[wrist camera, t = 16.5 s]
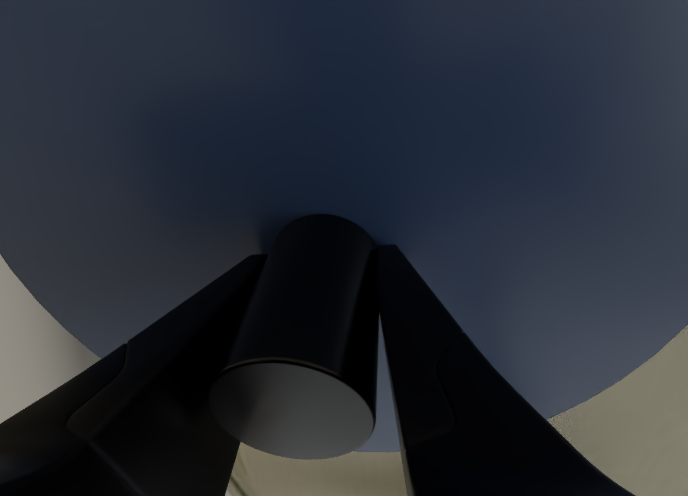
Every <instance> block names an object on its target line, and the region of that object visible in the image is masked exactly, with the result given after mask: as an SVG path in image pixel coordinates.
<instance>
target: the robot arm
mask: <svg viewBox="0 0 688 496" xmlns="http://www.w3.org/2000/svg"><path fill="white" fill-rule="evenodd" d="M267 256H268V255H267V254H254V255H250V256H248V257H247V258H245V259H244V260H242V261H241V262H240V263H238V264H237V265H235V266H234V267H233V268H231V269H230V270H228V271H227V272H225V273H224V274H223V275H221V276H220V277H218V278H217V279H215V280H214V281H213V282H211V283H210V284H208V285H207V286H205V287H204V288H203V289H201V290H200V291H198V292H197V293H195V294H194V295H193V296H191V297H190V298H188V299H187V300H185V301H184V302H183V303H181V304H180V305H178V306H177V307H175V308H174V309H173V310H171V311H170V312H168V313H167V314H165V315H164V316H163V317H161V318H160V319H158V320H157V321H155V322H154V323H153V324H151V325H150V326H148V327H147V328H145V329H144V330H143V331H141V332H140V333H138V334H137V335H135V336H134V337H133V338H131V339H130V340H128V342H127V344H126V343H124V344H122V345H121V346H120V347H118V348H117V349H115V350H114V351H112V352H111V353H110V354H108V355H107V356H105V357H104V358H102V359H101V360H100V361H98V362H96V363H95V364H93V365H92V366H91V367H89V368H88V369H86V370H85V371H83V372H82V373H80V374H79V375H77V376H75V377H74V378H72V379H71V380H69V381H68V382H66V383H64V384H63V385H61V386H60V387H58V388H57V389H55V390H54V391H52V392H50V393H49V394H48V395H46V396H44V397H42V398H41V399H39V400H38V401H36V402H35V403H33V404H31V405H30V406H28V407H26V408H25V409H23V410H22V411H20V412H19V413H17V414H15V415H14V416H12V417H10V418H9V419H7V420H6V421H4V422H3V423H1V424H0V496H225V493H226V490H227V486H228V483H229V480H230V476H231V473H232V469H233V466H234V462H235V459H236V456H237V452H238V449H239V445H240V442H241V441H239V440H237V439H236V438H234V437H233V436H231V435H230V434H229V433H227V432H226V431H225V430H224V429H223V428H222V427H220V426H219V424H218V423H217V422H216V421H215V420H214V418H213V417H212V415H211V414H210V411H209V409H208V406H207V401H206V391H207V387H208V384H209V382H210V380H211V378H212V375H213V373H214V371H215V369H216V367H217V365H218V362H219V360H220V358H221V356H222V354H223V352H224V349H225V347H226V345H227V343H228V341H229V339H230V336H231V334H232V332H233V330H234V328H235V326H236V323H237V321H238V319H239V317H240V315H241V313H242V310H243V308H244V306H245V304H246V302H247V300H248V297H249V295H250V293H251V291H252V289H253V287H254V284H255V282H256V280H257V278H258V276H259V274H260V271H261V269H262V267H263V265H264V263H265V261H266V259H267ZM375 284H376V291H377V298H378V306H379V313H380V320H381V327H382V334H383V341H384V348H385V355H386V361H387V368H388V374H389V380H390V387H391V393H392V400H393V406H394V412H395V419H396V425H397V432H398V438H399V444H400V451H401V457H402V464H403V470H404V476H405V483H406V489H407V495H408V496H636V495H634V494H632V493H630V492H629V491H627V490H626V489H624V488H623V487H621V486H619V485H618V484H617V483H615V482H614V481H613V480H611V479H610V478H608V477H607V476H606V475H604V474H603V473H602V472H601V471H599V470H598V469H597V468H596V467H595V466H593V465H592V464H591V463H590V462H589V461H588V460H587V459H586V458H585V457H584V456H582V455H581V454H580V453H579V452H578V451H577V450H576V449H575V448H574V447H573V446H572V445H571V444H570V443H569V442H568V441H567V440H566V439H565V438H564V437H563V436H562V435H561V434H560V433H559V432H558V431H557V430H556V429H555V428H554V427H553V426H552V425H551V424H550V423H549V422H548V421H547V420H546V419H545V418H544V417H543V416H542V415H541V414H540V413H539V412H538V411H537V410H536V409H535V408H534V407H533V406H532V405H531V404H530V403H529V402H528V401H527V400H526V399H524V398H523V397H522V396H521V395H520V394H519V393H518V392H517V391H516V390H515V389H514V388H513V387H512V385H511V384H510V383H509V382H508V381H507V380H506V379H505V378H504V377H503V376H502V375H501V374H500V373H499V372H498V371H497V370H496V369H495V368H494V367H493V366H492V364H491V363H490V362H489V361H488V360H487V359H486V357H485V356H484V355H483V354H482V353H481V351H480V350H479V349H478V348H477V347H476V346H475V344H474V343H473V342H472V340H471V339H470V338H469V337H468V335H467V334H466V333H464V331H463V329H462V328H461V327H460V325H459V324H458V323H457V322H456V320H455V319H454V318H453V316H452V315H451V314H450V313H449V311H448V310H447V309H446V308H445V306H444V305H443V304H442V302H441V301H440V300H439V299H438V297H437V296H436V295H435V294H434V292H433V291H432V290H431V288H430V287H429V286H428V285H427V283H426V282H425V281H424V280H423V278H422V277H421V276H420V274H419V273H418V272H417V271H416V269H415V268H414V267H413V266H412V264H411V263H410V262H409V260H408V259H407V258H406V257H405V255H404V254H403V253H402V251H401V250H400V249H399V248H398V246H397V245H395V244H390V245H380V246H378V249H377V258H376V267H375Z"/></svg>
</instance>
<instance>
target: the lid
mask: <svg viewBox="0 0 688 496" xmlns="http://www.w3.org/2000/svg"><path fill="white" fill-rule="evenodd" d="M390 244H395V245H397V246H398V248H399V249H400V250H401V251H402V253H403V254H404V255H405V257H406V258H407V259H408V260H409V262H410V263H411V264H412V266H413V267H414V268H415V269H416V271H417V272H418V273H419V274H420V276H421V277H422V278H423V280H424V281H425V282H426V283H427V285H428V286H429V287H430V288H431V290H432V291H433V292H434V294H435V295H436V296H437V297H438V299H439V300H440V301H441V302H442V304H443V305H444V306H445V308H446V309H447V310H448V311H449V313H450V314H451V315H452V316H453V318H454V319H455V320H456V322H457V323H458V324H459V325H460V327H461V328H462V329H463V331H464V333H466V334H467V335H468V337H469V338H470V339H471V340H472V342H473V343H474V344H475V346H476V347H477V348H478V349H479V350H480V351H481V353H482V354H483V355H484V356H485V357H486V359H487V360H488V361H489V362H490V363H491V364H492V366H493V367H494V368H495V369H496V370H497V371H498V372H499V373H500V374H501V375H502V376H503V377H504V378H505V379H506V380H507V381H508V382H509V383H510V384H511V385H512V387H513V388H514V389H515V390H516V391H517V392H518V393H519V394H520V395H521V396H522V397H523V398H524V399H526V400H527V401H528V402H529V403H530V404H531V405H532V406H533V407H534V408H535V409H536V410H537V411H538V412H539V413H540V414H541V415H542V416H543V417H544V418H545V419H548V418H551V417H553V416H556V415H558V414H560V413H562V412H564V411H566V410H568V409H570V408H572V407H574V406H576V405H578V404H580V403H583V402H585V401H587V400H588V399H590V398H592V397H593V396H595V395H597V394H598V393H600V392H602V391H603V390H605V389H607V388H608V387H610V386H612V385H613V384H615V383H617V382H618V381H620V380H621V379H623V378H624V377H625V376H627V375H628V374H630V373H631V372H632V371H634V370H635V369H636V368H638V367H639V366H640V365H642V364H643V363H644V362H646V361H647V360H648V359H650V358H651V357H653V356H654V355H655V354H656V353H657V352H658V351H659V350H660V349H662V348H663V347H664V346H665V345H666V344H667V343H668V342H669V341H670V340H671V339H672V338H674V337H675V336H676V335H677V334H678V333H679V332H680V331H681V330H682V329H683V328H685V327H686V326H687V325H688V0H0V254H1V256H2V257H3V259H4V260H5V262H6V263H7V264H8V266H9V267H10V269H11V270H12V271H13V273H14V274H15V275H16V276H17V277H18V278H19V280H20V281H21V282H22V283H23V284H24V286H25V287H26V288H27V289H28V290H29V291H30V293H31V294H32V295H33V296H34V298H35V299H36V300H37V301H38V302H39V303H40V304H41V305H42V306H43V307H44V308H45V309H46V310H47V311H48V312H49V313H50V314H51V315H52V316H53V317H54V318H55V319H56V320H57V321H58V322H59V323H60V324H61V325H62V326H63V327H64V328H65V329H66V330H67V331H68V332H69V333H71V334H72V335H73V336H74V337H75V338H76V339H78V340H79V341H80V342H81V343H82V344H83V345H85V346H86V347H87V348H88V349H89V350H90V351H92V352H93V353H94V354H96V355H97V356H98V357H100V358H101V359H102V358H104V357H105V356H107V355H108V354H110V353H111V352H112V351H114V350H115V349H117V348H118V347H120V346H121V345H122V344H124V343H126V344H127V342H128V340H130V339H131V338H133V337H134V336H135V335H137V334H138V333H140V332H141V331H143V330H144V329H145V328H147V327H148V326H150V325H151V324H153V323H154V322H155V321H157V320H158V319H160V318H161V317H163V316H164V315H165V314H167V313H168V312H170V311H171V310H173V309H174V308H175V307H177V306H178V305H180V304H181V303H183V302H184V301H185V300H187V299H188V298H190V297H191V296H193V295H194V294H195V293H197V292H198V291H200V290H201V289H203V288H204V287H205V286H207V285H208V284H210V283H211V282H213V281H214V280H215V279H217V278H218V277H220V276H221V275H223V274H224V273H225V272H227V271H228V270H230V269H231V268H233V267H234V266H235V265H237V264H238V263H240V262H241V261H242V260H244V259H245V258H247V257H248V256H250V255H254V254H267V255H268V256H267V259H266V261H265V263H264V265H263V267H262V269H261V271H260V274H259V276H258V278H257V280H256V282H255V284H254V287H253V289H252V291H251V293H250V295H249V297H248V300H247V302H246V304H245V306H244V308H243V310H242V313H241V315H240V317H239V319H238V321H237V323H236V326H235V328H234V330H233V332H232V334H231V336H230V339H229V341H228V343H227V345H226V347H225V349H224V352H223V354H222V356H221V358H220V360H219V362H218V365H217V367H216V369H215V371H214V373H213V375H212V378H211V380H210V382H209V384H208V387H207V391H206V401H207V406H208V409H209V411H210V414H211V415H212V417H213V418H214V420H215V421H216V422H217V423H218V424H219V426H220V427H222V428H223V429H224V430H225V431H226V432H227V433H229V434H230V435H231V436H233V437H234V438H236V439H237V440H239V441H241V442H243V443H244V444H246V445H248V446H251V447H253V448H255V449H258V450H261V451H263V452H266V453H270V454H273V455H277V456H282V457H288V458H294V459H326V458H333V457H337V456H341V455H344V454H347V453H350V452H352V451H356V452H400V444H399V438H398V432H397V425H396V419H395V412H394V406H393V400H392V393H391V387H390V380H389V374H388V368H387V361H386V355H385V348H384V341H383V334H382V327H381V320H380V313H379V306H378V298H377V291H376V284H375V267H376V258H377V249H378V246H380V245H390Z"/></svg>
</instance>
